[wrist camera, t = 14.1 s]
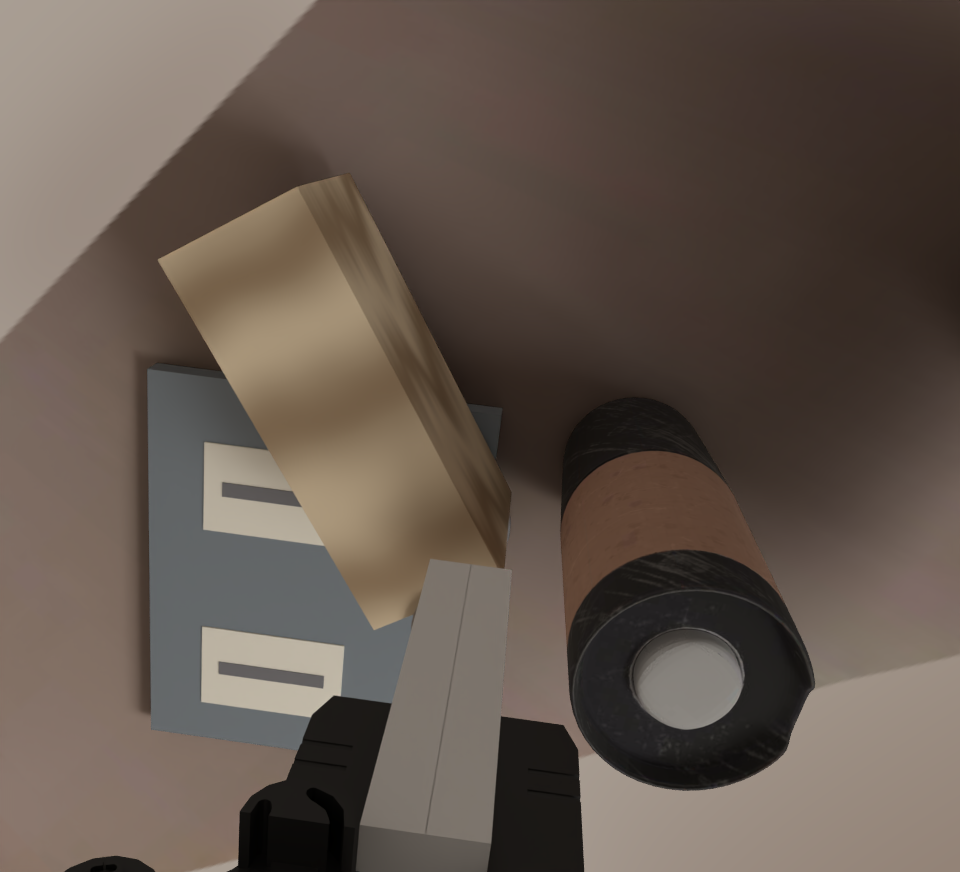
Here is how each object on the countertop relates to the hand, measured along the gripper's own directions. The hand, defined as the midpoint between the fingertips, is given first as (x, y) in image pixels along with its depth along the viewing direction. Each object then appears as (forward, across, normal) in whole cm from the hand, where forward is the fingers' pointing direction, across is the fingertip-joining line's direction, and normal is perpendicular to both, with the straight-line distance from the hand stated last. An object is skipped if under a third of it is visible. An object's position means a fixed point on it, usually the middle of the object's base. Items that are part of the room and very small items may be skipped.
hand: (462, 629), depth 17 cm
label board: (+29, -9, -16) cm, 35 cm away
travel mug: (+30, +7, -7) cm, 31 cm away
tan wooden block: (+27, -5, -4) cm, 28 cm away
